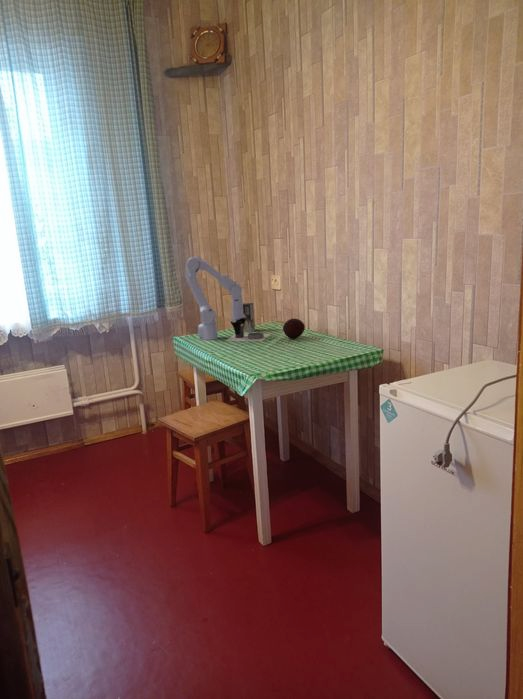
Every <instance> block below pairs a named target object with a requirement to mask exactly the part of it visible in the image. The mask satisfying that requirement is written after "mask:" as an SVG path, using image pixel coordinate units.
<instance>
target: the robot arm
mask: <svg viewBox="0 0 523 699" xmlns="http://www.w3.org/2000/svg"><path fill="white" fill-rule="evenodd" d="M184 271H185V273H184V277H185V280H186V282H187V284H188V286H189V288H190V291H191V292H192V294H193V297H194V299H195V301H196V303H197V305H198V308H199V311H200V315H201V321H202V323H199V324H198V326H197V327H198V328H197V329H198V341H201V340H202V341H205V340H206V341H213V340H217V339H218V338H219V336H218V326H217V325H218V324H217V321H216V319H217V313H216V310H214V309H213V308H212V306H211V305H210V304H209V302H208V300H207V298H206V296H205V293H204V291H203V290H202V287H201V285H200V283H199V281H198V278H197V275H198V271H205V272H207V273H208V274H209V275H211V276H212V277H213V278H215V279H216V280H218V281H217V283H218V284H219V285H220V286H222V288H224V289H226V291H228V292H229V293H230V295H231V300H230V301H231V312H232V316H231V317H232V318H231V321H230V324H231V326H232V327H233V329H234V335H235V334H236V335H240V328H241V323H243V329H244V324H245V321H246V318H245V317H246V316H244V314H243V303H244V302H243V300H244V299H243V287H242V285H241V283H237V281H234V280H233V279H232V278H230V275H228V274H221V273H220V272H219V271H218V270H217V269H216V268H215V267H213V266H212V265H211V264H210V263H208V261H206V260H205V259H203V258H201V257H200V256H198V255H196V256H192V257H189V258H188V259H187V261H186V262H185V270H184Z"/></svg>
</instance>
